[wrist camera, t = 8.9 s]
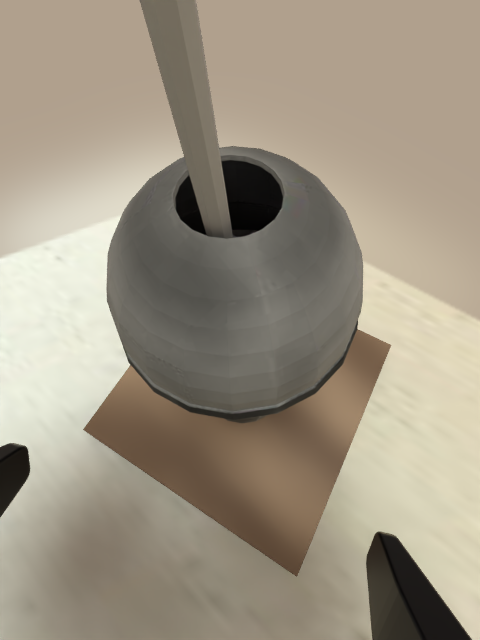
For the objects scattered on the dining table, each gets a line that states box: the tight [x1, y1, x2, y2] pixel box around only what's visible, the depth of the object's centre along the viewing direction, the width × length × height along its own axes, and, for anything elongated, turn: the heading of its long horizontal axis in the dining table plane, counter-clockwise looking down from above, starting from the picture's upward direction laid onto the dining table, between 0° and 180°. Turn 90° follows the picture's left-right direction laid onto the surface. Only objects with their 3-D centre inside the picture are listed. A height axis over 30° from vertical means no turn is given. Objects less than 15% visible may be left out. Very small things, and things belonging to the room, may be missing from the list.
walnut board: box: [83, 329, 391, 576], centre depth 21 cm, size 14×14×1 cm
